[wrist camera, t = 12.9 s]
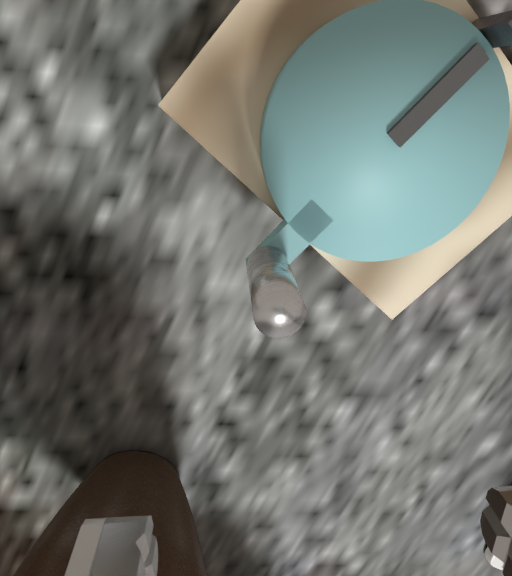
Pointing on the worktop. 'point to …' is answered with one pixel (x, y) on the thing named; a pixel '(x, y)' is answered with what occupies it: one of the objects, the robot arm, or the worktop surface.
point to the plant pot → (124, 515)
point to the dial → (375, 143)
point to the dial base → (248, 115)
